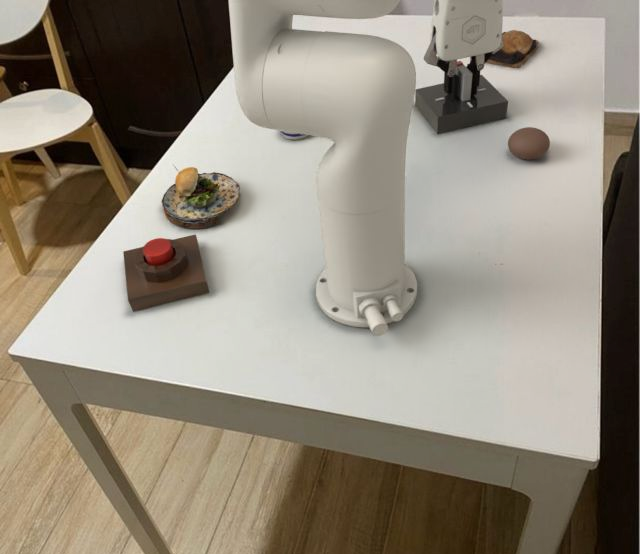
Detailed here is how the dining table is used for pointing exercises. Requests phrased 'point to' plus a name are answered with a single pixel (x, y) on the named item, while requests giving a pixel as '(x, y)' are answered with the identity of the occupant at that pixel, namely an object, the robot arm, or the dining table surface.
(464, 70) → the grey flat block
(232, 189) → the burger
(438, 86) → the panel
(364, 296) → the robot arm
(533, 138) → the brown flattened ball
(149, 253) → the red push button
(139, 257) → the block
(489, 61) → the bread roll
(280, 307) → the dining table surface
